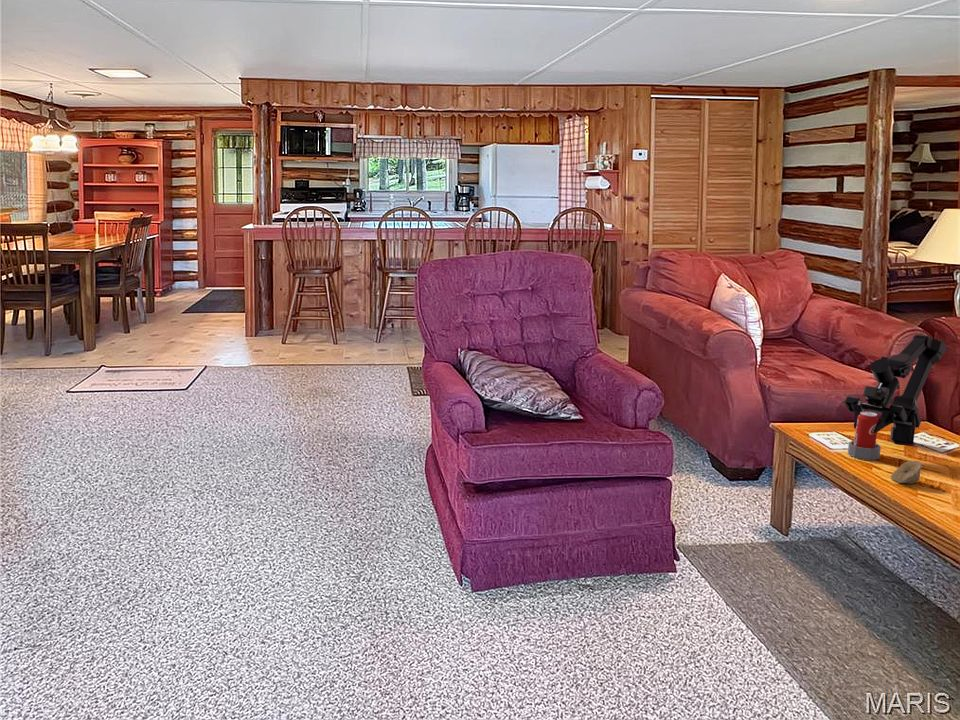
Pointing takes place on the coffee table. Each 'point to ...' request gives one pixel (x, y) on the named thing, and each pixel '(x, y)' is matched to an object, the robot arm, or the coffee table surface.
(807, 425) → the coffee table surface
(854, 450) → the can holder
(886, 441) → the coffee table surface
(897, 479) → the fossil
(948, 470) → the coffee table surface
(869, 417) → the beverage can
